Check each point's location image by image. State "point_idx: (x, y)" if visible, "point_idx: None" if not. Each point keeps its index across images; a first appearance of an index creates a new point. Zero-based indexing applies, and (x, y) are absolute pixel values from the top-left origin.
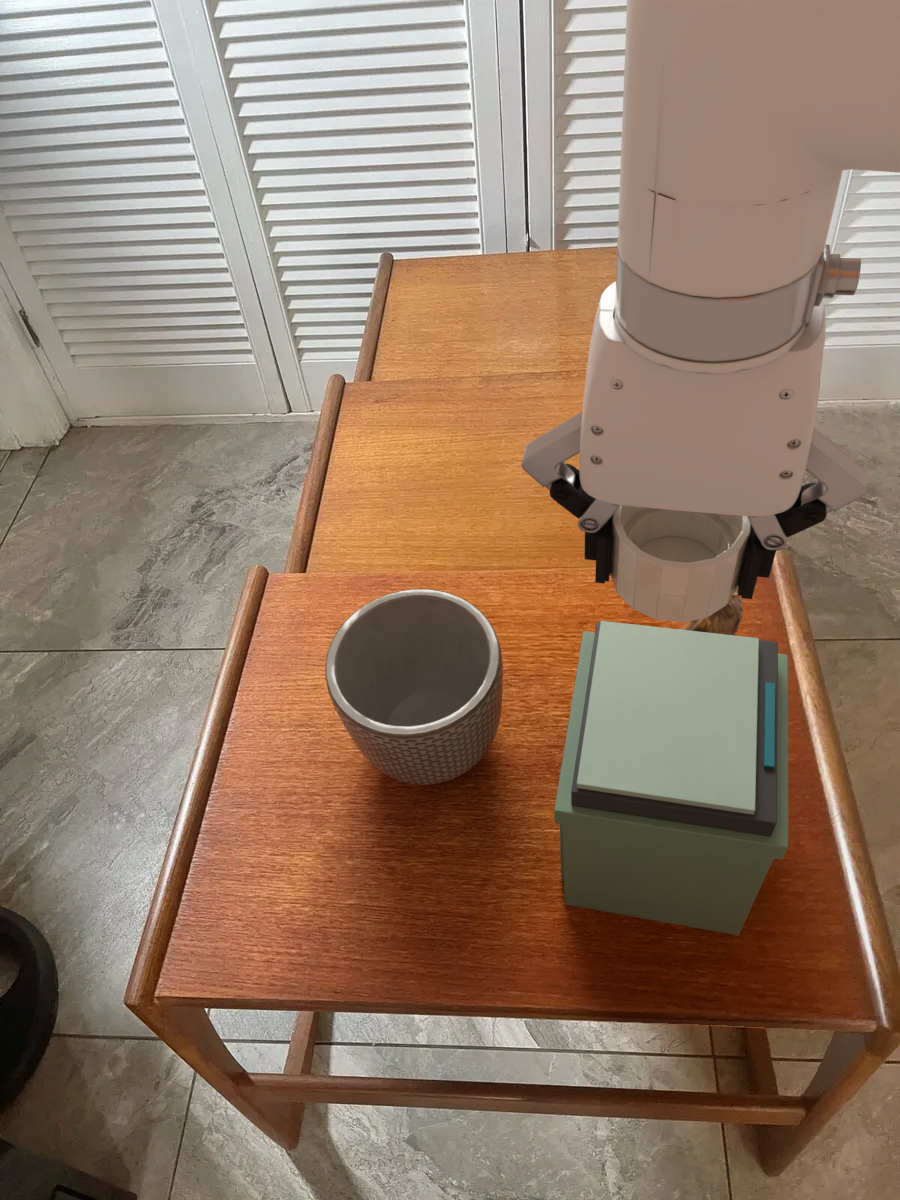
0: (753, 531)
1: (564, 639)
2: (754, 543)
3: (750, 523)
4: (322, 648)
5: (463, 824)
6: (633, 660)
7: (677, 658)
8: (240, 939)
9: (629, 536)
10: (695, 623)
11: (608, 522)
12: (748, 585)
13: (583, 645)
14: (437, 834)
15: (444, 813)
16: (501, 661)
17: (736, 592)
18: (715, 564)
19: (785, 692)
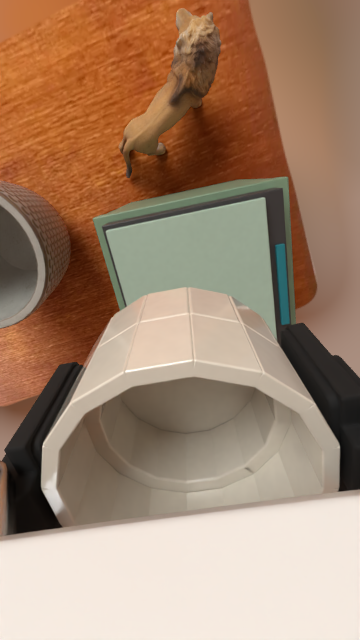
0: (340, 459)
1: (74, 105)
2: (343, 483)
3: (339, 471)
4: None
5: (82, 285)
6: (153, 268)
7: (191, 250)
8: (13, 379)
9: (102, 415)
10: (181, 82)
11: (55, 526)
12: None
13: (100, 235)
14: (72, 296)
15: (68, 283)
16: (39, 231)
17: (211, 24)
18: None
19: (288, 223)
